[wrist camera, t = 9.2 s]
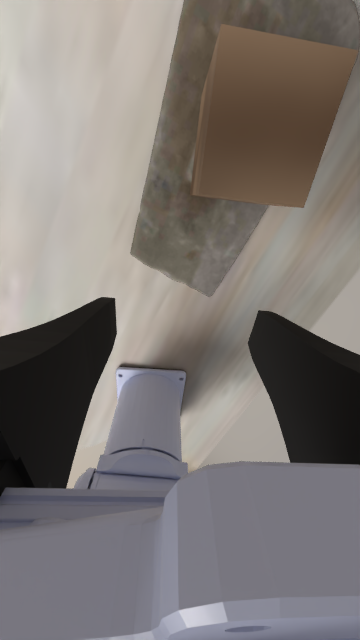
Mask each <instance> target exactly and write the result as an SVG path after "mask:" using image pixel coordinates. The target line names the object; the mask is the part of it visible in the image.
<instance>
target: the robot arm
mask: <svg viewBox="0 0 360 640" xmlns="http://www.w3.org/2000/svg"><path fill="white" fill-rule="evenodd" d="M116 334H117V329H116V309H115V298H106V297H101V298H98V299H96V300H94V301H92V302H90V303H88V304H86V305H84V306H82V307H80V308H78V309H76V310H74V311H72V312H70V313H68V314H66V315H63V316H61V317H59V318H57V319H54V320H52V321H50V322H47V323H44V324H41V325H39V326H36V327H33V328H30V329H27V330H23V331H20V332H16V333H12V334H9V335H5V336H2V337H0V640H360V355H358V354H356V353H354V352H351V351H349V350H347V349H344V348H342V347H339V346H337V345H335V344H333V343H331V342H328V341H327V340H325V339H323V338H321V337H319V336H316V335H315V334H313V333H311V332H309V331H307V330H305V329H304V328H302V327H300V326H298V325H296V324H295V323H293V322H291V321H289V320H287V319H285V318H284V317H282V316H280V315H278V314H275V313H273V312H270V311H258V314H257V317H256V320H255V323H254V326H253V329H252V332H251V335H250V338H249V341H248V345H249V349H250V353H251V356H252V359H253V362H254V364H255V366H256V368H257V371H258V373H259V375H260V377H261V379H262V381H263V383H264V386H265V388H266V390H267V392H268V394H269V396H270V399H271V401H272V404H273V406H274V409H275V412H276V415H277V418H278V421H279V424H280V428H281V431H282V434H283V438H284V441H285V444H286V448H287V452H288V456H289V459H290V463H279V462H245V461H239V462H230V463H221V464H213V465H207V466H204V467H202V468H200V469H197V470H195V471H193V472H190V473H188V464H187V463H186V462H182V456H181V424H180V410H181V404H182V398H183V392H184V386H185V380H186V372H184V371H177V370H161V369H145V368H128V367H119V368H117V370H116V381H117V398H118V402H117V406H116V410H115V414H114V417H113V421H112V425H111V429H110V432H109V436H108V440H107V444H106V447H105V451H104V455H101V456H100V460H99V462H98V466H97V469H94V468H88V469H87V470H86V472H85V473H84V474H82V475H81V476H80V477H79V478H78V480H77V482H76V484H75V486H74V488H73V489H66V486H67V483H68V479H69V475H70V471H71V467H72V463H73V460H74V456H75V452H76V449H77V445H78V441H79V438H80V434H81V431H82V428H83V424H84V421H85V418H86V414H87V411H88V408H89V405H90V402H91V399H92V395H93V393H94V390H95V388H96V385H97V383H98V381H99V379H100V376H101V374H102V372H103V370H104V367H105V365H106V363H107V361H108V358H109V356H110V354H111V351H112V349H113V345H114V342H115V338H116ZM120 374H122V375H120Z"/></svg>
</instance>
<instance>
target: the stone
mask: <svg viewBox="0 0 360 640" xmlns="http://www.w3.org/2000/svg"><path fill="white" fill-rule="evenodd" d="M221 24H225V25H230V26H235V27H241V28H246V29H251V30H256V31H261V32H266V33H271V34H277V35H282V36H287V37H292V38H297V39H302V40H307V41H313V42H318V43H323V44H328V45H333V46H338V47H343V48H349V49H354V50H359V46H360V24H359V17H358V13H357V9H356V6H355V4H354V2H353V1H352V0H184V3H183V8H182V13H181V17H180V21H179V26H178V32H177V37H176V42H175V46H174V50H173V55H172V59H171V65H170V70H169V75H168V79H167V84H166V89H165V93H164V98H163V102H162V107H161V112H160V117H159V122H158V126H157V131H156V135H155V141H154V145H153V149H152V154H151V159H150V164H149V168H148V174H147V178H146V183H145V186H144V191H143V195H142V200H141V207H140V213H139V216H138V220H137V224H136V229H135V233H134V238H133V243H132V247H131V255H132V256H134V257H135V258H137V259H138V260H140V261H141V262H142V263H143V264H145V265H147V266H149V267H151V268H153V269H156V270H158V271H161V272H162V273H163V274H165V275H166V276H167V277H169V278H170V279H172V280H175V281H177V282H181V283H185V284H186V285H188V286H189V287H191V288H193V289H196V290H198V291H199V292H201V293H202V294H204V295H206V296H208V297H210V296H212V295H213V294H214V292H215V290H216V289H217V287H218V286H219V284H220V283H221V281H222V279H223V277H224V276H225V274H226V273H227V271H228V270H229V268H230V267H231V266H232V264H233V263H234V261H235V260H236V258H237V256H238V255H239V253H240V252H241V250H242V248H243V247H244V245H245V243H246V242H247V240H248V238H249V236H250V235H251V233H252V232H253V230H254V229H255V227H256V226H257V224H258V222H259V220H260V219H261V217H262V216H263V214H264V213H265V211H266V209H267V207H268V206H269V205H261V204H253V203H245V202H237V201H230V200H222V199H214V198H207V197H199V196H191V195H190V190H191V182H192V173H193V164H194V156H195V147H196V139H197V130H198V121H199V113H200V104H201V96H202V92H203V89H204V85H205V81H206V78H207V74H208V71H209V67H210V63H211V60H212V56H213V52H214V49H215V45H216V41H217V38H218V34H219V30H220V27H221ZM358 52H359V51H358ZM357 57H358V54H357ZM357 57H356V60H357ZM356 60H355V62H356ZM355 62H354V64H355ZM353 66H354V65H353Z"/></svg>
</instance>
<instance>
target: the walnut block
mask: <svg viewBox="0 0 360 640" xmlns="http://www.w3.org/2000/svg"><path fill="white" fill-rule="evenodd" d="M358 51H359V50H354V49H349V48H343V47H338V46H333V45H328V44H323V43H318V42H313V41H307V40H302V39H297V38H292V37H287V36H282V35H277V34H271V33H266V32H261V31H256V30H251V29H246V28H241V27H235V26H230V25H225V24H221V27H220V30H219V34H218V38H217V41H216V45H215V49H214V52H213V56H212V60H211V63H210V67H209V71H208V74H207V78H206V81H205V85H204V89H203V92H202V96H201V104H200V113H199V121H198V130H197V139H196V147H195V156H194V164H193V173H192V182H191V190H190V195H191V196H199V197H207V198H214V199H222V200H230V201H237V202H245V203H253V204H261V205H274V206H287V207H300V208H304V205H305V202H306V200H307V197H308V194H309V191H310V188H311V185H312V182H313V180H314V177H315V174H316V171H317V168H318V165H319V162H320V160H321V157H322V154H323V151H324V148H325V145H326V142H327V140H328V137H329V134H330V131H331V128H332V125H333V122H334V120H335V117H336V114H337V111H338V108H339V105H340V102H341V100H342V97H343V94H344V91H345V88H346V85H347V82H348V80H349V77H350V74H351V71H352V68H353V65H354V62H355V60H356V57H357V54H358Z"/></svg>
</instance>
